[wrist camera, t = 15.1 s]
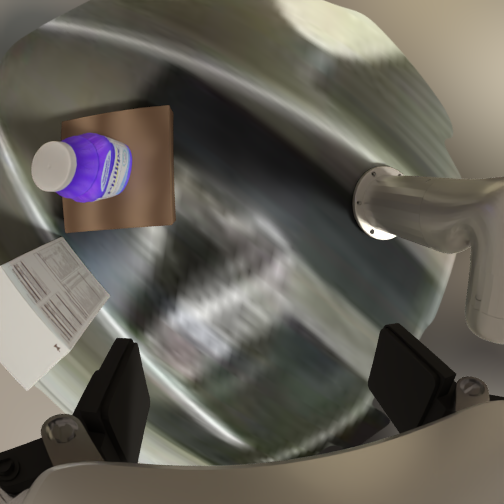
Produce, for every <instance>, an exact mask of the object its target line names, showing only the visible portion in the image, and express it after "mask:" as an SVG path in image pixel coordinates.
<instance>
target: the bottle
mask: <svg viewBox="0 0 504 504" xmlns="http://www.w3.org/2000/svg"><path fill="white" fill-rule="evenodd" d="M131 168H132V154H131V151H130V149H129V147H128V146H127V145H125V144H124V143H122V142H119V141H117V140H114V139H111V138H109V137H106V136H103V135H99V134H96V133H86V134H81V135H78V136H72V137H68V138H66V139H64V140H62V141H61V142H57V141H51V142H48V143H45V144H44V145H42V146H41V147H40V148H39V149H38V151H37V152H36V154H35V156H34V158H33V162H32V177H33V180H34V182H35V184H36V185H37V186H38V187H39V188H40V189H41V190H44V191H49V192H51V191H53V192H56V193H57V194H59V195H61V196H63V197H65V198H71V199H73V200H74V201H76V202H82V203H85V202H94V201H98V200H102V199H106V198H110V197H113V196H116V195H118V194H120V193H121V192H122V191H123V190H124V189H125V187H126V185H127V183H128V181H129V177H130V173H131Z"/></svg>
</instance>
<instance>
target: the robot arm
mask: <svg viewBox="0 0 504 504" xmlns="http://www.w3.org/2000/svg"><path fill="white" fill-rule="evenodd" d="M357 201H358V203H357ZM352 205H353V213H354V216H355V219H356V221H357V224H358V225H359V227H360V228H361V230H362V231H364V232H365V233H366V234H367V235H369V236H370V237H373V238H375V239H379V240H388V239H392V238H394V237H396V236H398V237H401V238H403V239H406V240H409V241H412V242H415V243H417V244H420V245H423V246H426V247H428V248H431V249H434V250H437V251H439V252H443V253H448V254H453V253H458V252H461V251H463V250H466V249H467V248H469V247H470V246H471V255H470V261H471V262H470V272H469V281H468V289H467V298H466V306H465V319H466V323H467V325H468V327H469V329H470V330H471V331H472V332H473V333H474V334H476V335H477V336H479V337H480V338H482V339H484V340H487V341H490V342H494V343H498V344H504V177H495V178H486V179H453V178H437V177H419V176H404V175H403V174H402V173H401V172H400V171H398V170H397V169H395V168H392V167H388V166H379V167H375V168H372V169H370V170H368V171H367V172H365V173H364V175H363V176H362V177H361V178H360V179H359V181H358V183H357V185H356V187H355V190H354V194H353V203H352ZM370 230H371V231H370ZM455 376H456V373H455V372H453V371H452V370H451V369H450V368H449V367H448V366H447V365H446V364H445V363H444V362H442V361H441V360H440V359H439V358H438V357H437V356H436V355H435V354H433V353H432V352H431V351H430V350H429V349H428V348H427V347H426V346H424V345H423V344H422V343H421V342H420V341H419V340H418V339H416V338H415V337H414V336H413V335H412V334H411V333H410V332H408V331H407V330H406V329H405V328H404V327H403V326H401V325H400V324H399V323H395V324H389V325H385V326H384V328H383V329H382V330H381V331H380V334H379V339H378V343H377V348H376V352H375V356H374V360H373V364H372V368H371V372H370V376H369V380H368V387H369V389H370V391H371V392H372V394H373V395H374V397H375V398H376V399H377V401H378V402H379V404H380V405H381V407H382V408H383V410H384V411H385V412H386V414H387V415H388V417H389V418H390V420H391V421H392V423H393V424H394V426H395V427H396V428H397V430H398V431H399V433H400V434H397V435H394V436H391V437H388V438H385V439H381V440H378V441H375V442H371V443H368V444H364V445H360V446H356V447H352V448H348V449H344V450H339V451H335V452H330V453H326V454H320V455H315V456H309V457H303V458H297V459H290V460H283V461H275V462H266V463H256V464H243V465H224V466H173V465H154V464H138V458H139V453H140V448H141V443H142V439H143V434H144V429H145V425H146V420H147V416H148V412H149V407H150V397H149V393H148V389H147V385H146V380H145V376H144V371H143V367H142V362H141V357H140V352H139V347H138V344H137V343H133V340H132V339H128V338H116V340H115V342H114V343H113V345H112V347H111V349H110V351H109V352H108V354H107V356H106V358H105V360H104V362H103V364H102V365H101V367H100V369H99V370H97V371H95V373H94V374H93V376H92V378H91V380H90V381H89V383H88V385H87V387H86V389H85V391H84V393H83V395H82V397H81V399H80V401H79V403H78V405H77V407H76V409H75V411H74V413H73V415H69V414H59V415H55V416H52V417H50V418H49V419H47V420H46V421H45V422H44V424H43V425H42V428H41V436H42V438H40V439H37V440H34V441H32V442H29V443H27V444H24V445H21V446H18V447H15V448H13V449H10V450H7V451H4V452H1V453H0V504H504V397H500V396H495V395H489V390H488V387H487V385H486V384H485V382H483V381H482V380H480V379H478V378H476V377H472V376H466V377H462V378H460V379H459V380H458V381H457V383H456V382H455V381H454V379H455Z"/></svg>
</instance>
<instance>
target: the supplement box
mask: <svg viewBox="0 0 504 504" xmlns="http://www.w3.org/2000/svg"><path fill="white" fill-rule="evenodd" d="M109 297H110V295H109V294H108V293H107V292H106V290H105V289H104V288H103V287H102V286H101V285H100V283H99V282H98V281H97V280H96V279H95V277H94V276H93V275H92V274H91V273H90V271H89V270H88V269H87V268H86V266H85V265H84V264H83V263H82V261H81V260H80V259H79V258H78V256H77V255H76V254H75V252H74V251H73V250H72V248H71V247H70V246H69V245H68V243H67V242H66V241H65V239H64V238H63V237H60V238H57V239H55V240H53V241H51V242H49V243H46V244H44V245H42V246H40V247H38V248H36V249H34V250H31V251H29V252H27V253H25V254H23V255H21V256H19V257H17V258H15V259H13V260H11V261H9V262H7V263H5V264H3V265H0V363H1V364H2V365H3V366H4V367H5V368H6V369H7V370H8V372H10V374H11V375H12V376H13V377H14V378H15V379H16V380H17V381H18V382H19V383H20V384H21V385H22V386H23V387H24V388H25V390H27V391H28V390H29V389H30V388H31V387H32V386H33V385H34V384H35V383H36V382H37V381H38V380H39V379H40V378H41V377H42V376H44V375H45V374H46V373H47V372H48V371H49V370H50V369H51V368H52V367H53V366H54V365H55V364H56V363H57V362H59V361H60V360H61V359H62V358H63V357H64V356H65V355H66V354H68V353H69V352H70V351H71V349H72V348H73V346H74V345H75V344H76V342H77V341H78V339H79V338H80V337H81V335H82V334H83V332H84V331H85V330H86V328H87V327H88V325H89V324H90V323H91V321H92V320H93V319H94V317H95V316H96V315H97V313H98V312H99V310H100V309H101V308H102V306H103V305H104V304H105V303H106V301H107V300H108V299H109Z"/></svg>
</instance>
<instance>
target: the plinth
mask: <svg viewBox="0 0 504 504" xmlns="http://www.w3.org/2000/svg"><path fill="white" fill-rule="evenodd" d="M86 133H96V134H99V135H103V136H106V137H109V138H111V139H114V140H117V141H119V142H122V143H124V144H125V145H127V146H128V147H129V149H130V151H131V154H132V168H131V173H130V177H129V181H128V183H127V185H126V187H125V189H124V190H123V191H122V192H121V193H120V194H118V195H116V196H113V197H110V198H106V199H102V200H98V201H94V202H85V203H82V202H76V201H74V200H73V199H71V198H65V197H63V196H62V199H63V212H64V223H65V232H66V233H71V232H82V231H94V230H107V229H120V228H134V227H148V226H164V225H172V224H173V223H174V222H175V220H176V214H175V194H174V162H173V112H172V110H171V108H170V106H169V105H166V106H155V107H146V108H137V109H130V110H123V111H116V112H109V113H103V114H98V115H92V116H87V117H82V118H77V119H72V120H68V121H63V122H62V130H61V141H62V140H64V139H66V138H68V137H72V136H78V135H81V134H86Z"/></svg>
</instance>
